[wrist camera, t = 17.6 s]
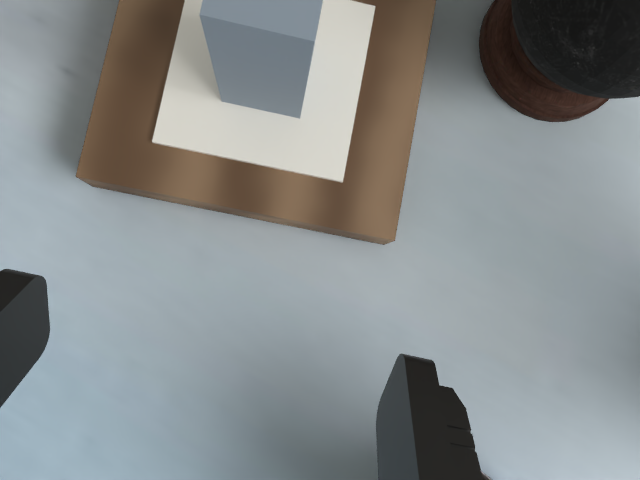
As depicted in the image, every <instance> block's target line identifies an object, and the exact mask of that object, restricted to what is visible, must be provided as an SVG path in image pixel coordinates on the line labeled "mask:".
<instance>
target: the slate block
mask: <svg viewBox="0 0 640 480" xmlns="http://www.w3.org/2000/svg"><path fill="white" fill-rule="evenodd" d="M322 3H323V0H203V1H202V5H201V10H200V14H199V15H200V19H201V23H202V27H203V31H204V35H205V39H206V42H207V46H208V50H209V54H210V58H211V62H212V66H213V70H214V74H215V78H216V82H217V85H218V89H219V93H220V97H221V101H222V102H226V103H231V104H235V105H240V106H244V107H249V108H254V109H258V110H263V111H267V112H272V113H277V114H281V115H286V116H290V117H295V118H299V119H300V116H301V111H302V106H303V101H304V96H305V91H306V86H307V81H308V76H309V71H310V66H311V61H312V56H313V51H314V46H315V40H316V35H317V30H318V24H319V19H320V14H321V9H322Z"/></svg>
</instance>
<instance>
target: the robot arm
mask: <svg viewBox="0 0 640 480" xmlns="http://www.w3.org/2000/svg"><path fill="white" fill-rule="evenodd" d="M49 333H50V323H49V310H48V297H47V284H46V280H45V278H44V277H42V276H39V275H34V274H29V273H25V272H20V271H15V270H11V269H4V270H2V271H0V407H1V406H2V405H3V404H4V402H5V401H6V400H7V399H8V397H9V396H10V395H11V393H12V392H13V391H14V390H15V388H16V387H17V386H18V385H19V383H20V382H21V381H22V379H23V378H24V377H25V376H26V374H27V373H28V372H29V370H30V369H31V368H32V367H33V365H34V364H35V363H36V362H37V360H38V359H39V358H40V356H41V355H42V353H43V351H44V349H45V347H46V345H47V342H48V338H49ZM470 431H471V428H470V424H469V420H468V416H467V412H466V408H465V407H464V405H463V404H462V402H461V401H460V399H459V397H458V396H457V394H456V393H455V391H454V390H453V388H449V387H444V386H440V385H439V382H438V377H437V372H436V367H435V363H434V362H433V361H432V360H429V359H424V358H419V357H415V356H410V355H405V354H400V355H399V356H398V357H397V360H396V362H395V364H394V367H393V369H392V372H391V374H390V377H389V379H388V381H387V384H386V386H385V389H384V391H383V394H382V396H381V399H380V402H379V406H378V411H377V419H376V434H377V456H378V479H379V480H483V477H482V473H481V469H480V465H479V461H478V457H477V453H476V452H475V444H474V440H473V436H472V434H471V433H470Z"/></svg>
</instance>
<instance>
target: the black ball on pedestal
mask: <svg viewBox="0 0 640 480" xmlns="http://www.w3.org/2000/svg"><path fill="white" fill-rule="evenodd" d="M479 49H480V58H481V62H482V65H483V69H484V72H485V74H486V76H487V78H488V80H489V82H490V84H491V85H492V87H493V88H494V89H495V91H496V92H497V93H498V95H499V96H500V97H501V98H502V99H503V100H504V101H505V102H507V103H508V104H509V105H510V106H511V107H512V108H514V109H516V110H517V111H519V112H521V113H522V114H524V115H527V116H529V117H532V118H534V119H537V120H543V121H548V122H565V121H570V120H574V119H578V118H580V117H582V116H584V115H586V114H588V113H591V112H592V111H594V110H596V109H598V108H599V107H600V106H601V105H603V104H604V103H605V102H607V101H608V100H609V99H611V98H629V97H638V96H640V0H495V1H494V2H493V3H492V5H491V6H490V8H489V10H488V12H487V13H486V15H485V17H484V20H483V23H482V26H481V30H480V39H479Z"/></svg>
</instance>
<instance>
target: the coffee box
mask: <svg viewBox="0 0 640 480" xmlns="http://www.w3.org/2000/svg"><path fill="white" fill-rule="evenodd" d="M481 473H482V477H483V480H492V479H491V478H490V477H488V476H487V475H486V474H485V473H483V472H482V471H481Z"/></svg>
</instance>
